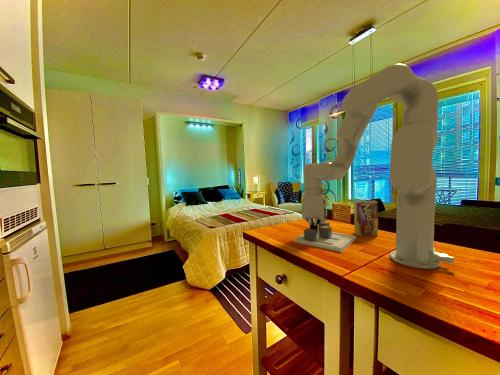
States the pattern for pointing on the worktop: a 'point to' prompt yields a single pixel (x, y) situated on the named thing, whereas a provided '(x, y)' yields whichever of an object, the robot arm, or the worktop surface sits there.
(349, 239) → the panel
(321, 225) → the block
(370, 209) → the candy box
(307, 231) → the block
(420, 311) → the worktop surface
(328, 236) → the block
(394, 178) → the robot arm
